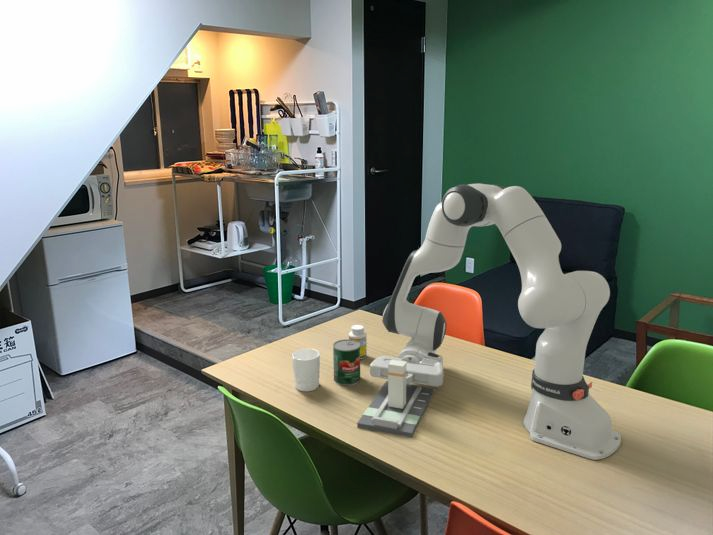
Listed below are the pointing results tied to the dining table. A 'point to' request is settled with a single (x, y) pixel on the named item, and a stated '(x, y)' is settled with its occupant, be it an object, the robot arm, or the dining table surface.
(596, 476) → the dining table surface
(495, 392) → the dining table surface
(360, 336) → the supplement bottle
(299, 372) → the white cup
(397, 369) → the fader
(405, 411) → the grey slider track base
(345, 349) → the canned tomato
